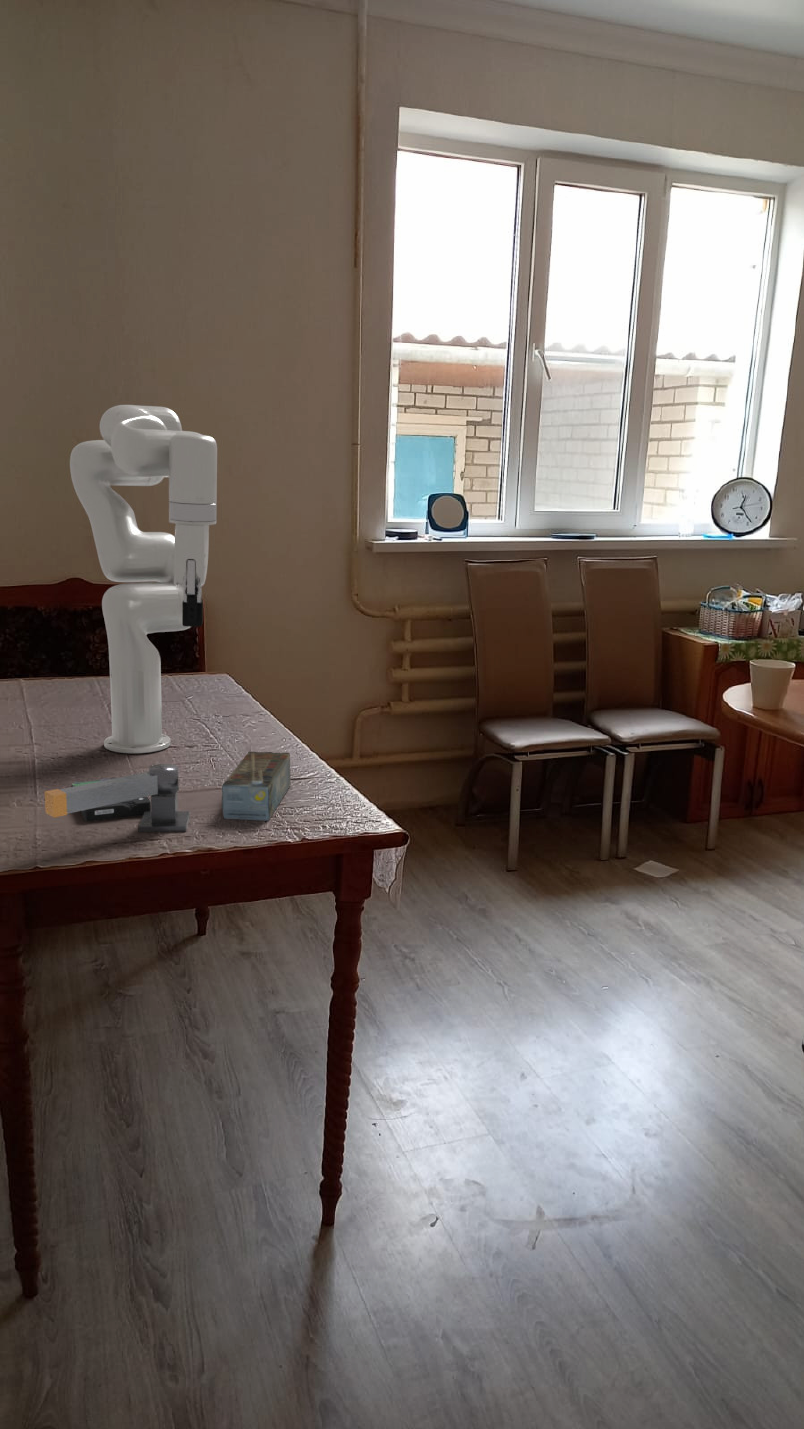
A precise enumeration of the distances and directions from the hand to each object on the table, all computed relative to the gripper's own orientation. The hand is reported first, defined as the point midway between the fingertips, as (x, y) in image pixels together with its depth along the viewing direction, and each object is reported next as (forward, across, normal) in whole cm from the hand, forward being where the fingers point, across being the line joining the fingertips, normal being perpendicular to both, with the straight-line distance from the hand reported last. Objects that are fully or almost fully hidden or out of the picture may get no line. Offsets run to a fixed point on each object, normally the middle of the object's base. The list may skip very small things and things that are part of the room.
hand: (192, 625), depth 174 cm
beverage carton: (+28, +9, +11) cm, 32 cm away
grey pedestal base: (+27, +20, -3) cm, 34 cm away
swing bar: (+22, +24, -10) cm, 34 cm away
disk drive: (+29, +10, -13) cm, 33 cm away
